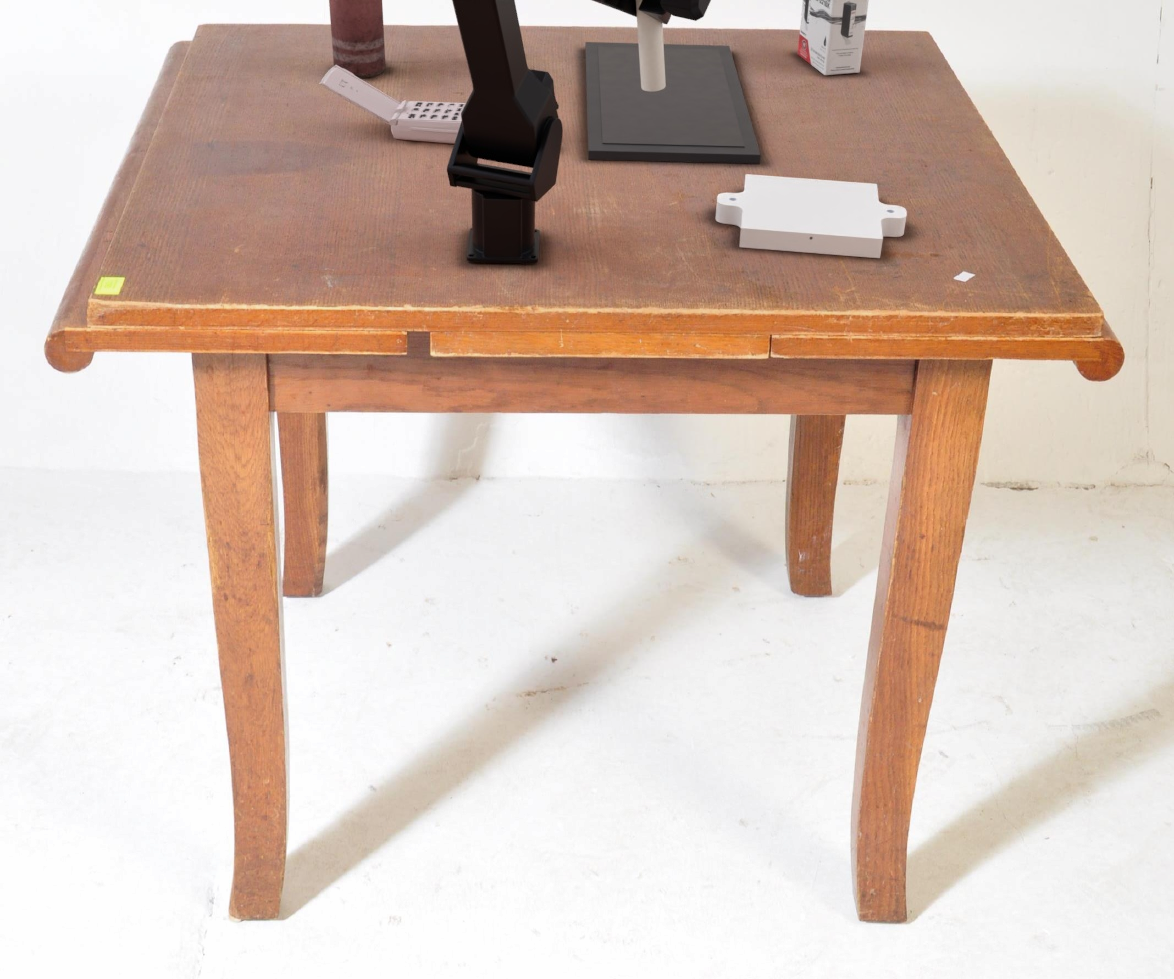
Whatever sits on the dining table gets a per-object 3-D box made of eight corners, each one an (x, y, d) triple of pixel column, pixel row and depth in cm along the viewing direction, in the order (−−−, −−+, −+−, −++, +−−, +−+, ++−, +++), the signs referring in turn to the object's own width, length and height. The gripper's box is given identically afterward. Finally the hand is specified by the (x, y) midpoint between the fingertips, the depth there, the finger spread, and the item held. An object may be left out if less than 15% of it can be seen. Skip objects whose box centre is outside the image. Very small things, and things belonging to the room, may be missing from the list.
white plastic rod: (670, 87, 153) (663, -47, 144) (649, 94, 152) (641, -42, 143) (657, 81, 154) (649, -53, 146) (636, 87, 154) (628, -47, 145)
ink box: (795, 54, 180) (805, -43, 174) (830, 51, 182) (843, -45, 175) (823, 76, 174) (836, -24, 167) (860, 73, 175) (874, -26, 168)
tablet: (759, 164, 150) (760, 154, 150) (588, 159, 150) (588, 149, 149) (728, 53, 180) (729, 45, 179) (585, 50, 180) (585, 41, 179)
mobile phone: (331, 63, 155) (561, 78, 152) (335, 116, 158) (560, 132, 156) (315, 83, 150) (552, 99, 148) (320, 137, 153) (552, 153, 151)
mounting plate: (712, 245, 134) (713, 226, 133) (718, 190, 144) (720, 172, 143) (907, 260, 132) (910, 241, 131) (899, 204, 143) (902, 185, 142)
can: (325, 65, 172) (316, -56, 164) (376, 60, 174) (369, -60, 166) (340, 82, 167) (331, -42, 159) (392, 75, 170) (386, -47, 162)
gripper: (723, -133, 132) (766, -35, 146) (556, -161, 141) (612, -65, 155) (674, -27, 131) (722, 61, 145) (508, -61, 140) (569, 26, 154)
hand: (656, 17), depth 150 cm, fingers closed on white plastic rod, 2 cm apart
